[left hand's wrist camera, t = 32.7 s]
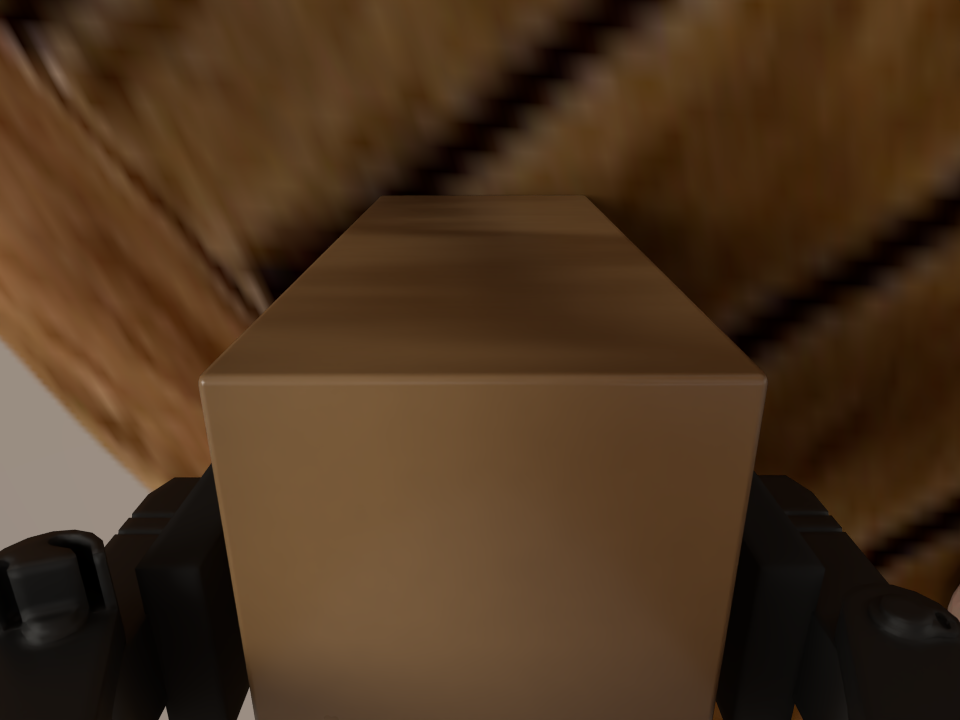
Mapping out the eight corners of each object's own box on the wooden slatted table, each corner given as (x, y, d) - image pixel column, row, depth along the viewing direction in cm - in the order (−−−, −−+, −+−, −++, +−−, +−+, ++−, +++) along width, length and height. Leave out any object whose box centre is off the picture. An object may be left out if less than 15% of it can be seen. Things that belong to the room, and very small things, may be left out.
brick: (396, 496, 20) (295, 971, 9) (379, 195, 17) (193, 375, 6) (570, 496, 20) (673, 971, 9) (586, 194, 17) (773, 375, 6)
